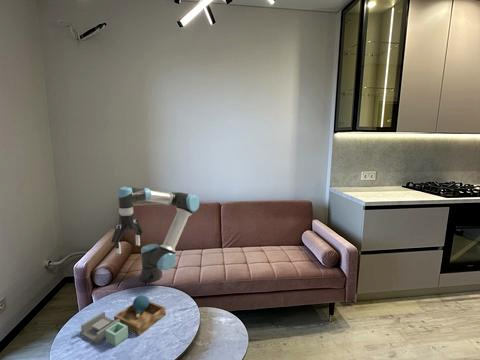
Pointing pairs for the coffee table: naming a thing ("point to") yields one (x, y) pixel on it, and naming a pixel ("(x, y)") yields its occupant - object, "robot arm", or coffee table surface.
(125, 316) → the tray
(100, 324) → the checker plate
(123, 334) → the cup
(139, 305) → the light bulb
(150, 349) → the coffee table surface
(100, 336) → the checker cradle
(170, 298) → the coffee table surface
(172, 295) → the coffee table surface
